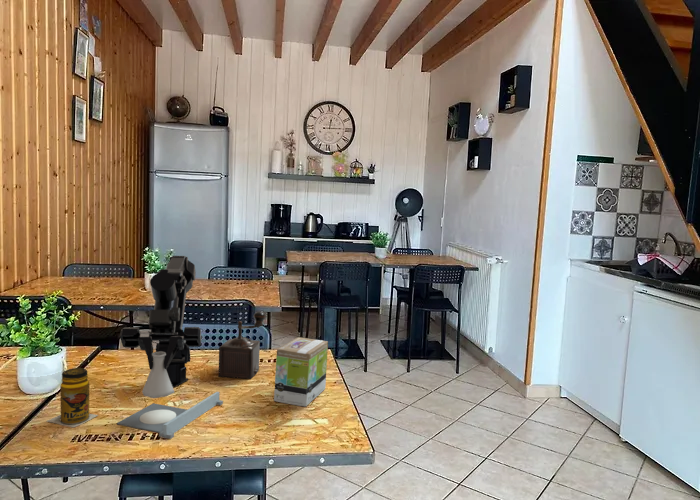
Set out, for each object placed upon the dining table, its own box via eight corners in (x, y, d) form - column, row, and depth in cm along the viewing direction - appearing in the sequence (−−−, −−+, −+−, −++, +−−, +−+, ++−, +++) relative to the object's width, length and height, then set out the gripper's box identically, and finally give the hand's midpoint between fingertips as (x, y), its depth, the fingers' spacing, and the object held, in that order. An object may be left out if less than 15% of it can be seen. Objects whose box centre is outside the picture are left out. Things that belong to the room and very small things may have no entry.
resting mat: (116, 424, 120) (116, 422, 120) (153, 404, 132) (153, 402, 132) (163, 433, 116) (163, 432, 116) (196, 412, 129) (196, 410, 129)
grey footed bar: (159, 436, 115) (159, 423, 114) (212, 401, 136) (213, 391, 135) (170, 438, 114) (170, 425, 114) (222, 403, 135) (223, 392, 135)
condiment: (74, 428, 117) (74, 377, 116) (45, 421, 120) (45, 372, 119) (98, 416, 124) (98, 368, 123) (71, 410, 127) (71, 363, 126)
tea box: (307, 408, 135) (309, 353, 134) (272, 402, 138) (274, 348, 136) (326, 389, 149) (328, 339, 148) (294, 384, 152) (296, 335, 151)
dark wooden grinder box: (252, 379, 154) (254, 321, 152) (217, 377, 155) (218, 319, 153) (265, 364, 169) (267, 311, 168) (233, 361, 170) (234, 308, 169)
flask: (152, 401, 119) (152, 359, 118) (136, 392, 123) (137, 352, 122) (179, 393, 124) (180, 353, 123) (164, 385, 129) (164, 347, 128)
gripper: (121, 295, 123) (110, 353, 114) (201, 295, 127) (196, 352, 118) (128, 319, 132) (118, 375, 122) (203, 319, 136) (199, 373, 126)
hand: (157, 368), depth 122 cm, fingers closed on flask, 3 cm apart
